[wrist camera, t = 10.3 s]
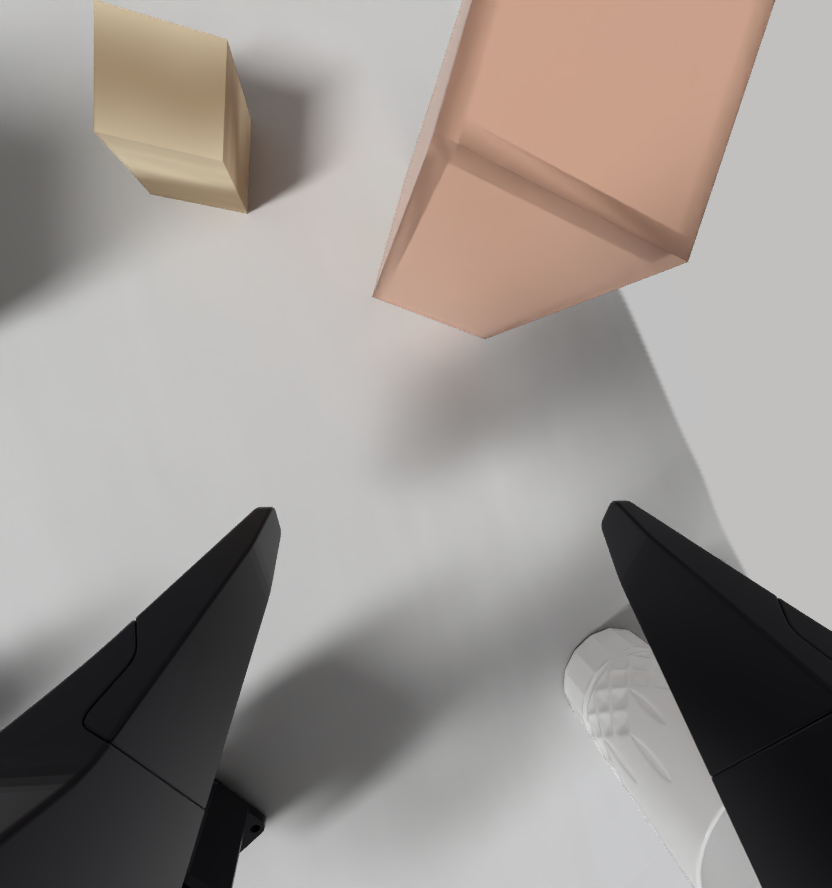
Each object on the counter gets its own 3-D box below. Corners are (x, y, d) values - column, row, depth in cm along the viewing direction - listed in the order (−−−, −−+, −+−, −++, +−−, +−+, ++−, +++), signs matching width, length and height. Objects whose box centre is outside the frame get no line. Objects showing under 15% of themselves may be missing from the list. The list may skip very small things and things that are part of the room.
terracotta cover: (485, 338, 20) (687, 262, 9) (372, 296, 19) (434, 132, 7) (520, 222, 20) (783, -24, 8) (408, 168, 18) (537, -232, 7)
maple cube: (247, 214, 17) (222, 161, 13) (151, 194, 16) (93, 131, 12) (252, 122, 17) (227, 39, 13) (153, 97, 16) (94, -1, 12)
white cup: (586, 604, 24) (753, 743, 15) (668, 636, 26) (864, 776, 17) (535, 708, 24) (667, 914, 15) (621, 732, 26) (786, 926, 17)
